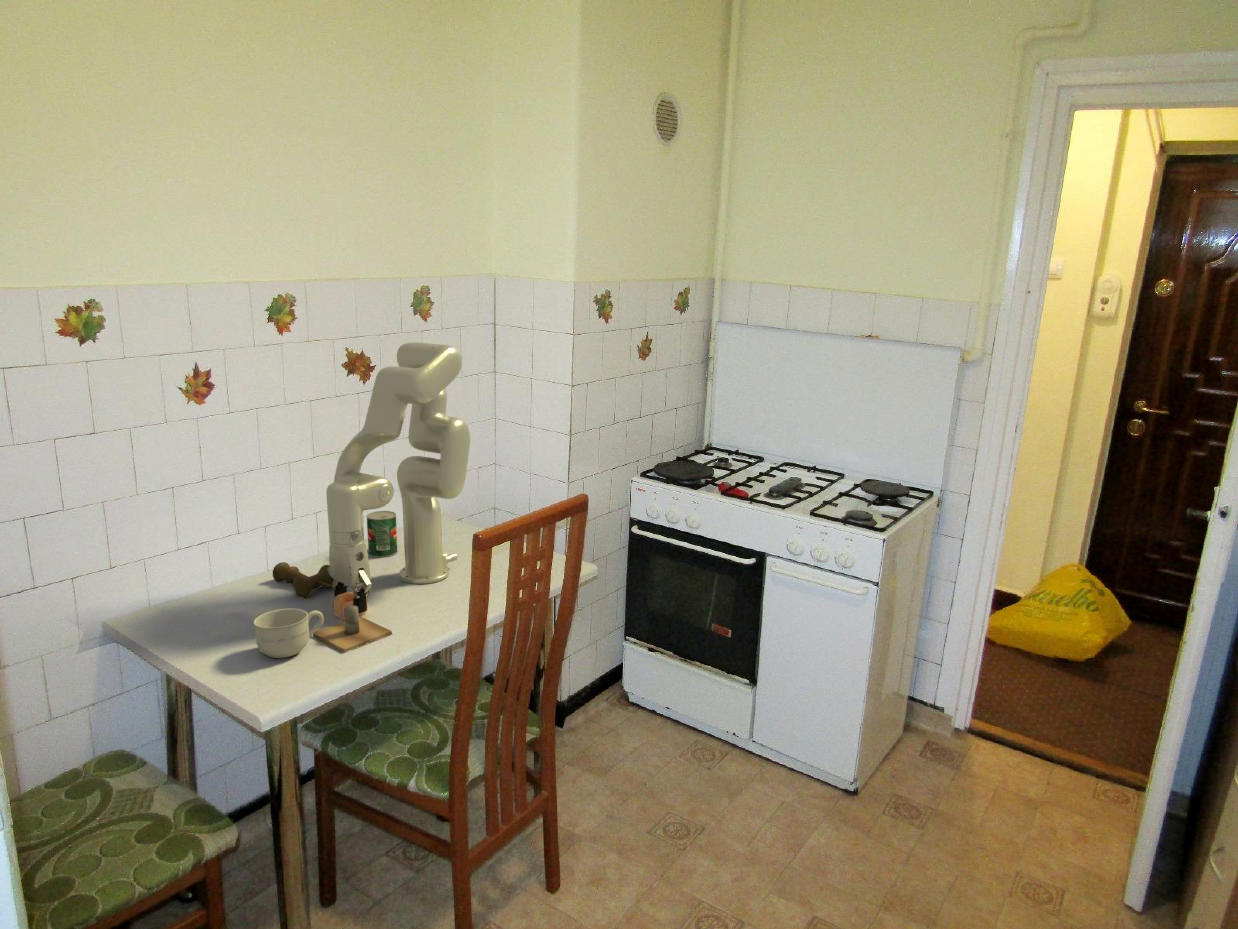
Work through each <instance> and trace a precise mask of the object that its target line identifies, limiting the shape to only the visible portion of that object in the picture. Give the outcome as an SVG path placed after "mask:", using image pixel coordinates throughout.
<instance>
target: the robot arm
mask: <svg viewBox="0 0 1238 929" xmlns="http://www.w3.org/2000/svg"><path fill="white" fill-rule="evenodd" d="M396 363H397V365H398V366H385V367H383V368H381V369H380V370H379V371H378V372H377V375H376V376H375V380H374V385H373V387H372V391H371V392H372V393H371V395H370V396H371V397H370V400H369V405H368V408H367V413H366V416H365V421H364V424H363V427H362V429H361V430H360V431H359V432H358V433H357V434H356V435H355V436H354V437H353V438H352V439H351V440H349V442H348V443H347V445H346V446H345V447H344V448H343V450H342V452H341V453H340V455H339V458H338V460H337V465H336V470H335V472H334V477H333V478H334V479H333V482H332V483H330V484H328V485H327V487H326V492H325V493H326V494H325V495H326V505H327V507H326V509H327V522H328V523H327V525H328V536H329V538H328V539H329V547H328V548H329V552H328V565H329V567H328V568H327V570H328V572H329V575H330V579H331V581H332V582H333V583H332V587H333V588H332V589H333V600H334V599H335V597H336V596H337V595H340V594H343V593H346V592H348V586H349V587H351V589H352V590H351V591H352V592H353V593H354V596H355V598H353V606H357V607H358V614H359V613H362V612H365V611H368V599H367V598H368V595H369V592H370V589H371V588H372V582H371V569H370V560H369V554H368V548H367V546H366V542H365V539H364V538H365V537H364V536H365V535H364V524H363V523H364V520H363V517H364V516H363V512H364V511H369V510H377V509H380V508H384V507H385V506H387V505H388V504H389V503H390V502H391V501H392V500H393V497H394V494H395V492H394V491H395V489H394V486H393V484H392V482H391V481H390V480H389V479H388V478H386V477H383V476H379V475H374V474H369V473H365V472H364V473H363V472H361V468H362V466H363V463H364V460H365V459H366V458H367V456H368V455H369V454H370V453H371V452H372V451H374V450H375V449H377V448H379V447H380V446H382V445H385V444H388V443H390V442H393V441H395V440H396V439H399V437H400V435H401V434H402V433H401V432H402V428H403V424H404V420H405V415H406V413H407V412H406V411H407V407H408V404H410V405H411V410H410V417H409V418H410V419H409V427H408V442H409V444H410V446H411V447H412V448H413V449H415V450H418V451H423V452H427V453H435V454H440V458H435V457H428V456H423V455H411V456H408V457H405V458H404V459H403V460H402V461H401V462H400V463H399V465H398V467H397V472H396V479H397V486H398V489H399V493H400V497H401V504H402V518H403V519H402V522H403V523H402V525H403V545H404V567H403V568H402V569H400V571H399V572H398V573H399V578H400V580H402V581H404V582H406V583H411V584H420V585H421V584H430V583H431V584H432V583H436V582H439V581H442V580H444V579H446V578H447V577H448V576H449V575H450V569H449V567H448V566H447V565H449V563H452V562H455V561H457V560H458V555H457V554H456V553H455V552H454V553H451V554H448V555H447V553H443V533H442V531H443V530H442V509H441V504H440V501H439V500H438V499H445V500H453V499H455V498H458V497H459V495H461V493H462V491H463V489H464V485H465V483H466V482H465V481H466V477H467V469H468V464H469V463H468V462H469V454H470V445H471V432H470V430H469V427H468V424H466V422H465V421H464V420H463V419H461V418H459V417H455V416H447V405H448V404H447V403H448V394H447V391H446V388H447V387H448V386H449V385H450V384H452V382H453V381H454V380H455V379H456V378H457V377H458V375H459V374H460V371H461V369H462V366H463V359H462V355H461V353H460V352H459V350H458V349H457V348H456V347H454V346H452V345H447V344H441V343H440V344H438V343H428V342H417V341H416V342H415V341H414V342H406V343H403V344H402V345H400V346H399V347H398V349H397V352H396ZM357 582H359V583H357ZM358 587H360V589H359V590H358ZM366 596H367V598H366Z"/></svg>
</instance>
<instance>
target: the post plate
mask: <svg viewBox="0 0 1238 929" xmlns="http://www.w3.org/2000/svg"><path fill="white" fill-rule="evenodd" d="M343 619H344V621H343V622H340V623H336V624H334V625H331V626H329V627H326V628H325V627H324V628H323V629H318V630H317V631H316V632H315V633H313V634H312V637H314V638H315V639H318V640H319V639H320V641H321V640H322V641H321V642H323V641H324V643H325V644H327V643H328V644H327V645H329V644H330V645H329V646H331V647H333V648H334V647H335V649H336V648H337V649H336V650H339V651H340V650H341V651H340V652H342V653H345V654H346V653H348V652H350V651H349V650H351V651H352V650H355V649H358V648H360V647H363V646H365V644H366V645H368V644H367V643H369V644H370V643H374V642H375V641H374V640H376V641H379V640H381V639H380V638H382V639H384V638H386V637H389V636H392V635H393V631H392V630H391V629H388V628H385V627H384V626H382V625H380V624H377V622H376V623H375V622H374V621H372V620H369V619H367V618H365V617H363V616H359V614H358V607H357V606H347V607H345V608H344V618H343ZM391 634H392V635H391ZM383 637H384V638H383ZM378 639H379V640H378ZM373 641H374V642H373ZM357 647H358V648H357ZM347 651H348V652H347Z"/></svg>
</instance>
